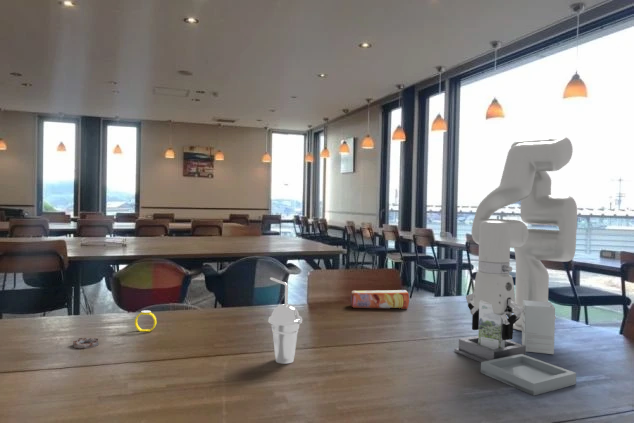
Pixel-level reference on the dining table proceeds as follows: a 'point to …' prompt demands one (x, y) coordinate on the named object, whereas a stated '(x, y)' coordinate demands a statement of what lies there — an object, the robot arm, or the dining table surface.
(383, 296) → the snack package
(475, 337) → the socket
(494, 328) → the syrup box
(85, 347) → the donut
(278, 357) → the cup with straw
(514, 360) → the tray
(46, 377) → the dining table surface
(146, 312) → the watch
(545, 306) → the supplement box
